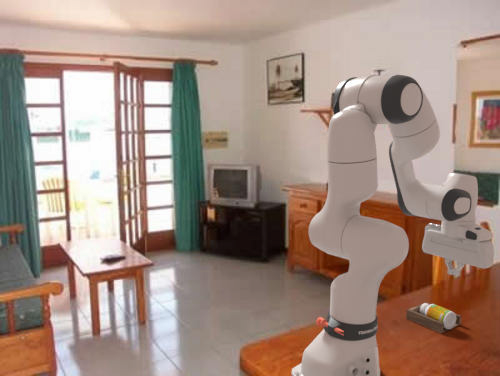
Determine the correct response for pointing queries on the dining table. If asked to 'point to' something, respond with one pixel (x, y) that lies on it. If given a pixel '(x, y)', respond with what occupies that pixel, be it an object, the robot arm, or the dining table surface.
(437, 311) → the supplement bottle
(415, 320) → the tray
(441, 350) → the dining table surface
